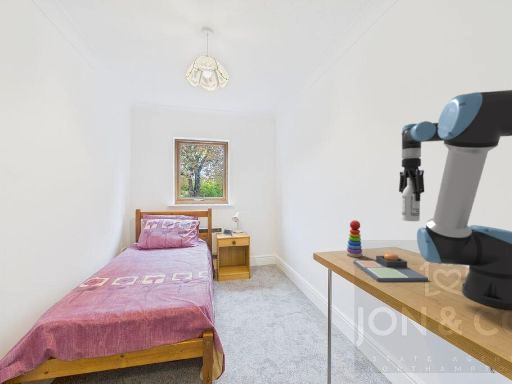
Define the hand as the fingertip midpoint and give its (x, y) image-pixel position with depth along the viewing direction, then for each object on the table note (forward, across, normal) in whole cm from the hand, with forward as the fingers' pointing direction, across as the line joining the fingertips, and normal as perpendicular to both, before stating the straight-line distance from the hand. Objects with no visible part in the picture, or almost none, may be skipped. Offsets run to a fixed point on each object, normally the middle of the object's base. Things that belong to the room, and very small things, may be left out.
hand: (410, 207), depth 112 cm
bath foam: (+6, 0, 0) cm, 6 cm away
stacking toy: (+27, +15, +20) cm, 37 cm away
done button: (+24, -3, +11) cm, 26 cm away
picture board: (+27, -9, +16) cm, 32 cm away
